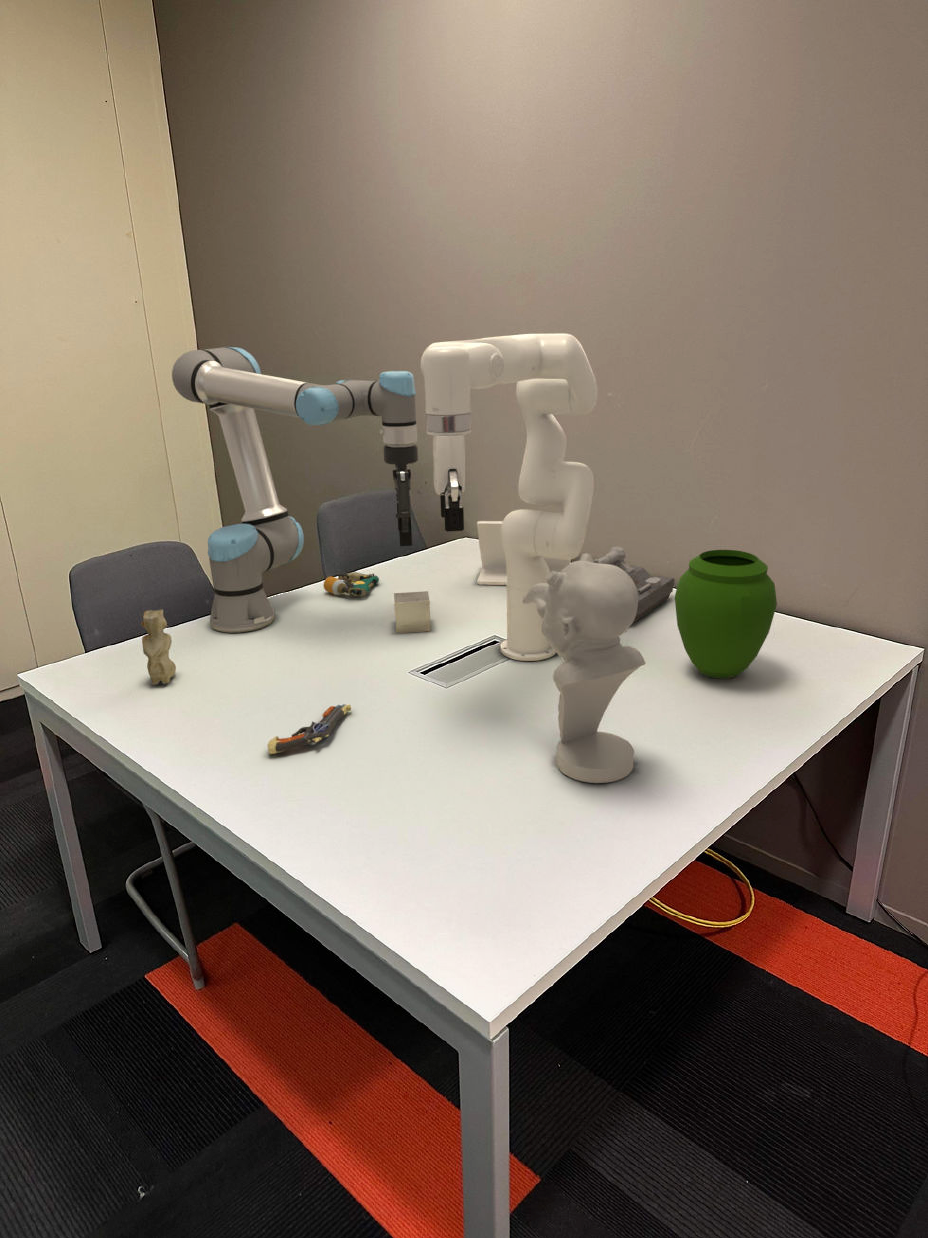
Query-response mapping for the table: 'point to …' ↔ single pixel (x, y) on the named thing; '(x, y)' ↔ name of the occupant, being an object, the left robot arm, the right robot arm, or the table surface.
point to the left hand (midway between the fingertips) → (404, 537)
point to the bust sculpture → (589, 662)
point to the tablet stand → (501, 555)
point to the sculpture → (157, 647)
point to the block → (412, 612)
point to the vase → (724, 611)
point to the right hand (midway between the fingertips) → (452, 523)
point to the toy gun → (310, 731)
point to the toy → (641, 582)
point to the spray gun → (350, 583)
